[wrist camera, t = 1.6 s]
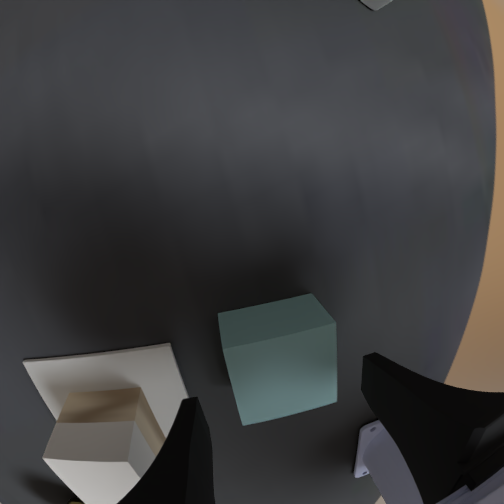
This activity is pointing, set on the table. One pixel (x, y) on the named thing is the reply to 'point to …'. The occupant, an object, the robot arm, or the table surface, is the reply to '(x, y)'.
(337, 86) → the table surface
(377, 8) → the skincare box
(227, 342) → the teal block
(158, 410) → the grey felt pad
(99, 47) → the table surface
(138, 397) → the beech slab
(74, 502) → the olive lace dome
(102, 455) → the light grey block
